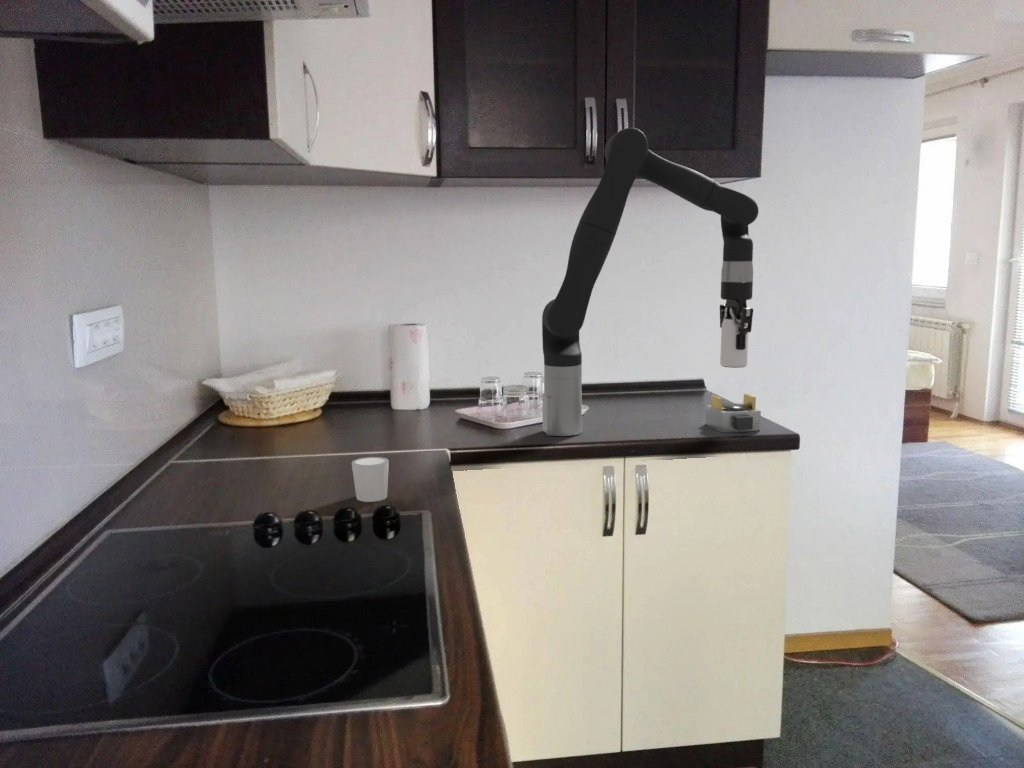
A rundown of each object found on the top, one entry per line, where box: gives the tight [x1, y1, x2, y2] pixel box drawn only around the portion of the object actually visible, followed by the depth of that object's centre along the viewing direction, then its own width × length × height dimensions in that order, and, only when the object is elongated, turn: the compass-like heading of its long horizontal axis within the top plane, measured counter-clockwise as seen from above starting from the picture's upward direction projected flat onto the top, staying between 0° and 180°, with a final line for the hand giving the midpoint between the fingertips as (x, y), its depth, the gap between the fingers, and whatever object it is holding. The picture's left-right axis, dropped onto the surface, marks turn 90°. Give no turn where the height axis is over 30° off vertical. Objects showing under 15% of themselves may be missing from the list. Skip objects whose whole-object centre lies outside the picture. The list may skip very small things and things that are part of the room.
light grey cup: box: [351, 456, 390, 503], centre depth 150 cm, size 7×7×7 cm
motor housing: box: [705, 393, 762, 433], centre depth 201 cm, size 10×12×8 cm
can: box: [719, 318, 749, 369], centre depth 199 cm, size 6×6×12 cm
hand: (734, 347), depth 199 cm, fingers closed on can, 6 cm apart
